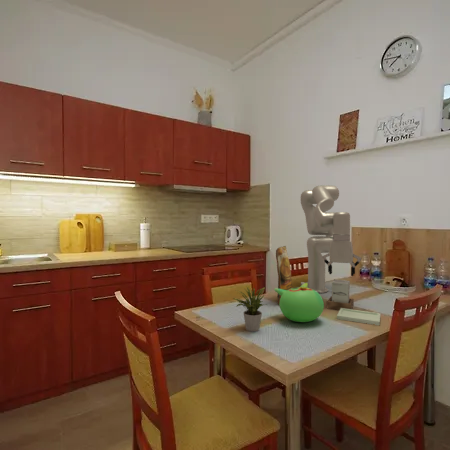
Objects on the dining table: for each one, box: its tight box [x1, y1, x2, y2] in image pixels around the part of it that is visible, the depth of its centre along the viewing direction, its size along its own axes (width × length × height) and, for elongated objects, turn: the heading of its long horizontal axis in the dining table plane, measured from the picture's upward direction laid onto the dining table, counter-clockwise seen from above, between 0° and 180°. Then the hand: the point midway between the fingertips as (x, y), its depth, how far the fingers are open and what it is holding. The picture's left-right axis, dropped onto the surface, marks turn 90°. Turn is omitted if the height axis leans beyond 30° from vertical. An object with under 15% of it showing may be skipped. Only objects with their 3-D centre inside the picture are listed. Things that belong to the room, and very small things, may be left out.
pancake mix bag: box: [275, 245, 293, 305], centre depth 153 cm, size 7×19×28 cm, turn 148°
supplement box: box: [331, 278, 351, 303], centre depth 144 cm, size 7×7×13 cm
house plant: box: [232, 286, 268, 332], centre depth 117 cm, size 14×14×16 cm
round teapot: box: [273, 282, 325, 323], centre depth 126 cm, size 18×17×15 cm
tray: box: [336, 308, 381, 326], centre depth 129 cm, size 16×12×2 cm
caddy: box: [326, 295, 355, 311], centre depth 144 cm, size 10×10×4 cm
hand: (341, 274), depth 143 cm, fingers open, 9 cm apart
